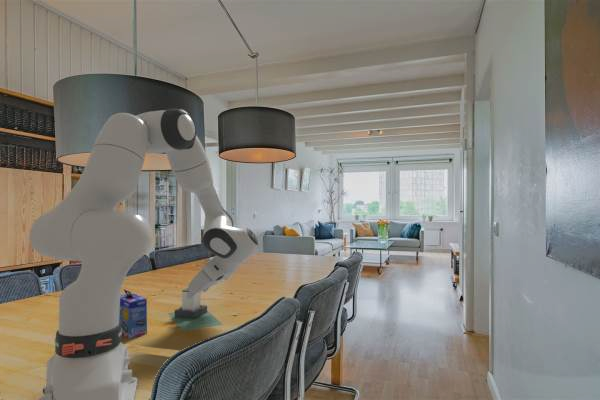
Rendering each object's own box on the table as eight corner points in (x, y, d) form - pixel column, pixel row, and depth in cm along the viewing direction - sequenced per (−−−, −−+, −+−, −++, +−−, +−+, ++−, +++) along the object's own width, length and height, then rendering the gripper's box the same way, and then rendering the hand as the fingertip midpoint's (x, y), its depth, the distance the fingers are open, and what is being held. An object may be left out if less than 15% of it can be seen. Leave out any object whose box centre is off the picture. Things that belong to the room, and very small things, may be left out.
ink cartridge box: (114, 335, 107) (115, 288, 107) (132, 331, 111) (133, 285, 111) (129, 344, 100) (130, 293, 101) (147, 338, 105) (148, 290, 105)
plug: (200, 313, 124) (200, 288, 125) (193, 317, 120) (193, 291, 120) (188, 312, 126) (189, 287, 126) (181, 316, 121) (182, 290, 121)
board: (222, 329, 113) (223, 316, 113) (181, 336, 107) (182, 323, 107) (204, 311, 131) (204, 301, 131) (168, 317, 125) (168, 306, 125)
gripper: (229, 256, 131) (205, 280, 133) (201, 264, 111) (173, 293, 113) (240, 268, 130) (215, 293, 132) (214, 279, 110) (185, 308, 112)
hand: (196, 293), depth 122 cm, fingers open, 8 cm apart
